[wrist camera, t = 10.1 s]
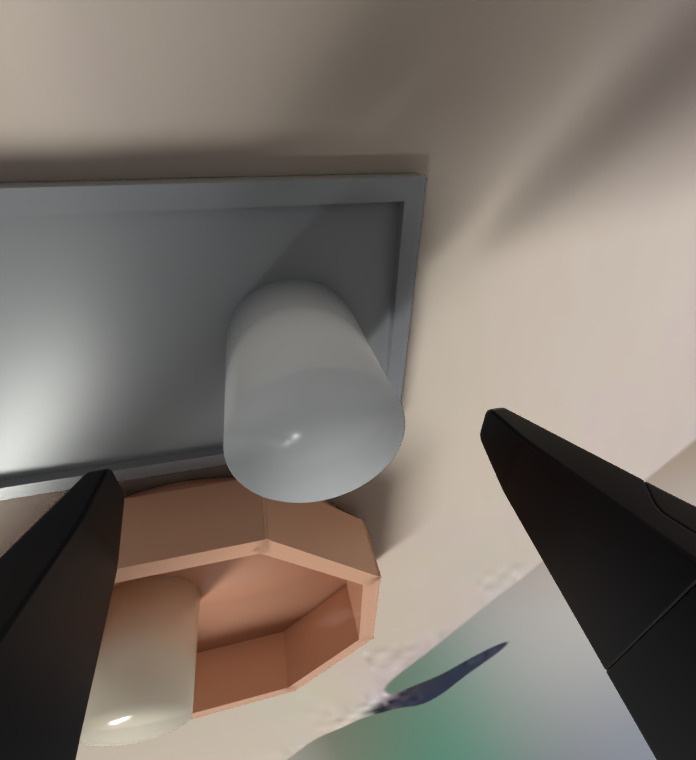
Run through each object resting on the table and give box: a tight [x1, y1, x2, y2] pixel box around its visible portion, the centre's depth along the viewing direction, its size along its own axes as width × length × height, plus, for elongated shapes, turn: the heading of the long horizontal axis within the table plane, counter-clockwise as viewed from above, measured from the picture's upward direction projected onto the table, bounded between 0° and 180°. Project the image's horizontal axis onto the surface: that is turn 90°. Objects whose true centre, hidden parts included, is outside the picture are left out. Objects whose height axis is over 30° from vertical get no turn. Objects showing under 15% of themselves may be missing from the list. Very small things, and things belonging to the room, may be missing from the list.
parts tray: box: [0, 173, 427, 501], centre depth 13 cm, size 18×10×1 cm, turn 89°
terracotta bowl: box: [113, 477, 381, 720], centre depth 20 cm, size 16×16×4 cm
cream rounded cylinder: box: [79, 575, 200, 746], centre depth 18 cm, size 4×4×5 cm
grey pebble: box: [223, 279, 405, 503], centre depth 12 cm, size 4×4×5 cm
